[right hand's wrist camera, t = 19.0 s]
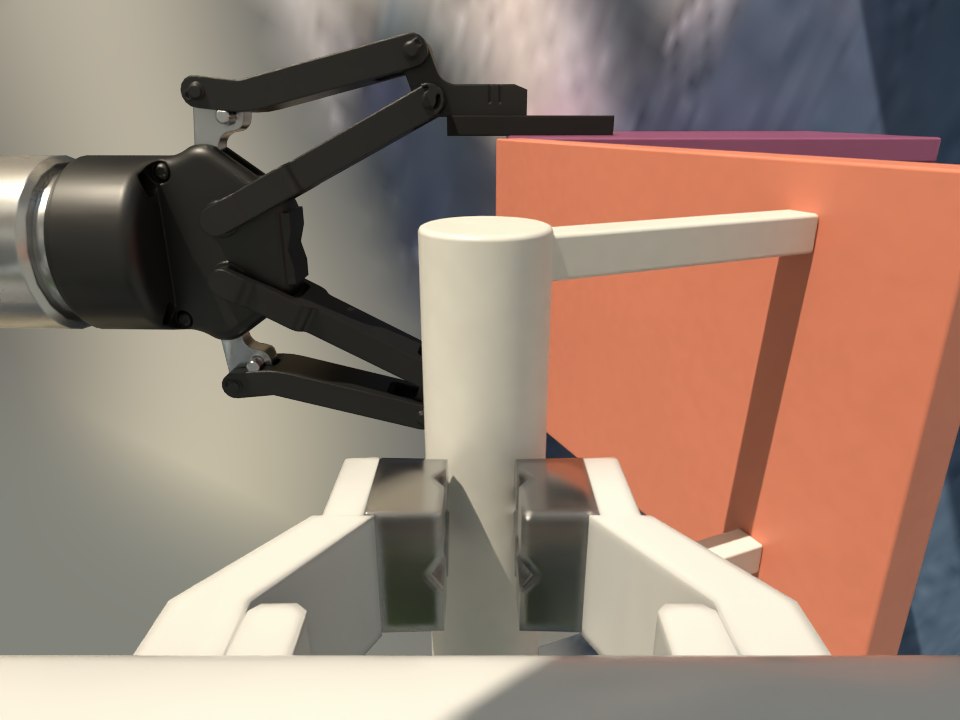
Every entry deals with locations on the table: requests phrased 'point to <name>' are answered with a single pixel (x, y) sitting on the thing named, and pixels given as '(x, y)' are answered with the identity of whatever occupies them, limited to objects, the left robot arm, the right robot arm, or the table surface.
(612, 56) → the table surface
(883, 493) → the lid
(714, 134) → the chest
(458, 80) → the table surface
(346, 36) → the table surface
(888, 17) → the table surface
